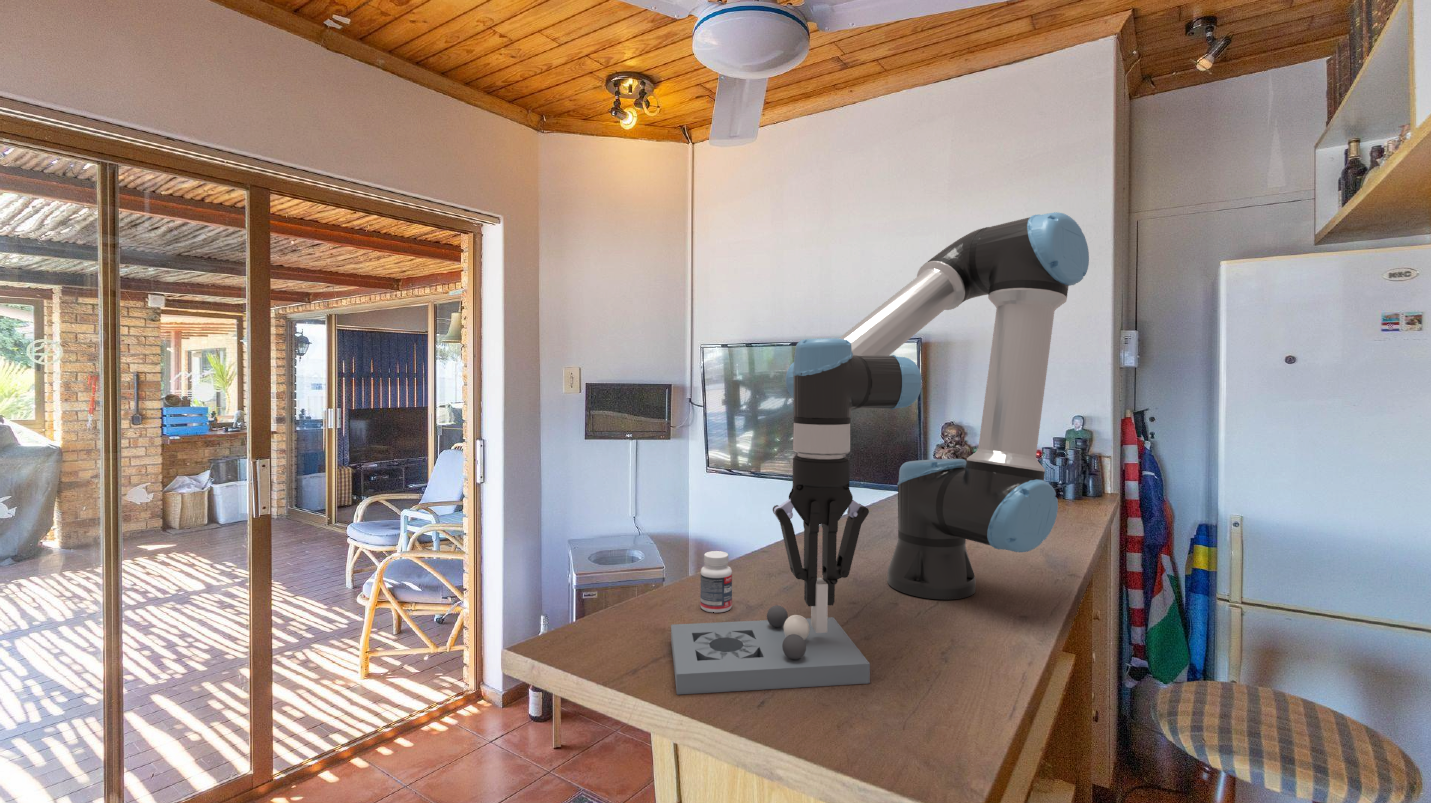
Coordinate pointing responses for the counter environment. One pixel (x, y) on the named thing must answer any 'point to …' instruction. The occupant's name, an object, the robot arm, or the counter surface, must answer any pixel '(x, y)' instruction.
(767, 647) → the plate
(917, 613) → the counter surface
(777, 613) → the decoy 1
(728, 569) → the pill bottle
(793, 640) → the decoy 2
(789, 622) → the ball
